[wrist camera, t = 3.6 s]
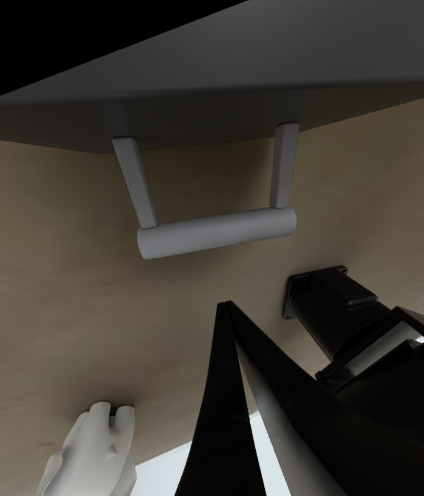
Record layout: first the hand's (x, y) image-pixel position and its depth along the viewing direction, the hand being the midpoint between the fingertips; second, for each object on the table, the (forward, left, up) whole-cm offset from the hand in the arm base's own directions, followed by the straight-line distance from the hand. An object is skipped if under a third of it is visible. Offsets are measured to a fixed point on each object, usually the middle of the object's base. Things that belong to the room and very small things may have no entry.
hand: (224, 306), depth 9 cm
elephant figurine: (-23, +18, -5) cm, 29 cm away
